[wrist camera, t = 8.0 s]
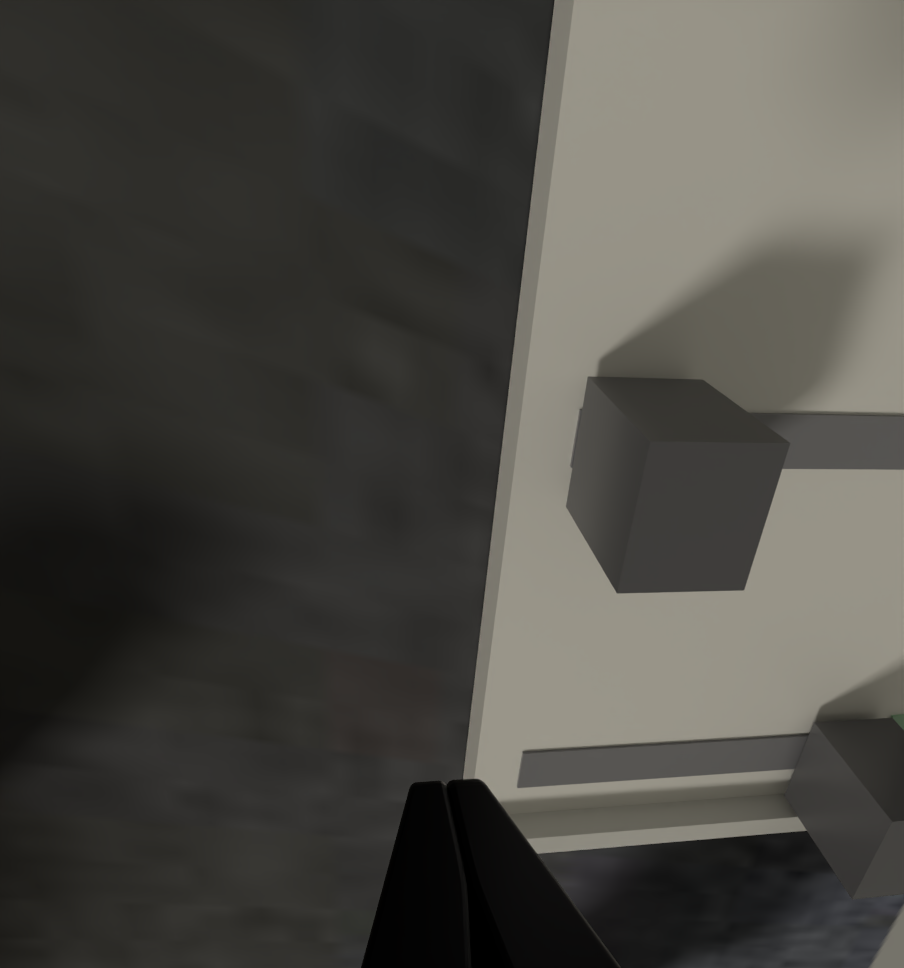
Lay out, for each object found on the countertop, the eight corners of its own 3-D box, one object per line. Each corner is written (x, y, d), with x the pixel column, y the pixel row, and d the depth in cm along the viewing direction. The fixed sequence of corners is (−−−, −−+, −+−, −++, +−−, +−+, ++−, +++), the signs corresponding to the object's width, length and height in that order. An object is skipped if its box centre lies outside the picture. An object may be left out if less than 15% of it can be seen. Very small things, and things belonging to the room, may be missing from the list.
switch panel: (1304, -220, 16) (1463, -274, 13) (851, 769, 29) (893, 823, 27) (597, -364, 13) (651, -462, 11) (460, 796, 26) (472, 859, 24)
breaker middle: (702, 379, 18) (790, 443, 14) (672, 506, 20) (744, 590, 16) (587, 376, 17) (650, 441, 14) (566, 506, 19) (617, 593, 16)
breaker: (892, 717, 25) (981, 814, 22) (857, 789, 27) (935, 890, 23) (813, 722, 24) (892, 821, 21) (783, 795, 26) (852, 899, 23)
